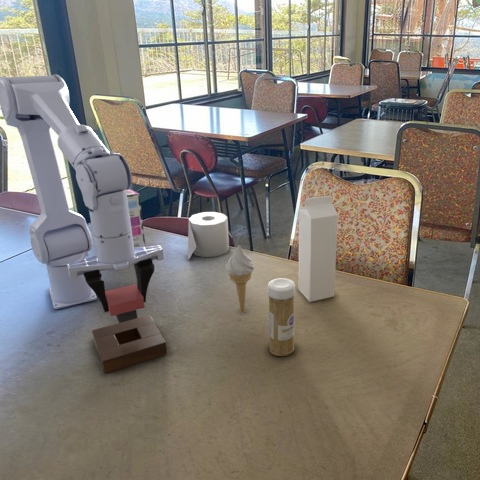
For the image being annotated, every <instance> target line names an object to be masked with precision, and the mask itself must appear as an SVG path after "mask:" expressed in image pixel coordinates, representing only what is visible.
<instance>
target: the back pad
mask: <svg viewBox="0 0 480 480" xmlns="http://www.w3.org/2000/svg"><path fill="white" fill-rule="evenodd" d="M105 294H106V299H107V303H108V308H109V312H108V313H109V315H110V317H114V316H115V317H116V319H117V322H118V323H121V322H125V321H129V320H133V319H136V318H138V311H137V310H142V309H144V308H145V307H146V306H145V302H144V299H143V296H142V294H141V293H140V291H139V289H138V288H137V283H134V284H131V285H125V286H121V287H118V288H112V289H109V290H105Z"/></svg>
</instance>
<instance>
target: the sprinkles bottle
mask: <svg viewBox="0 0 480 480" xmlns="http://www.w3.org/2000/svg"><path fill="white" fill-rule="evenodd" d="M295 294H296V285H295V282H294V280H293V279H292V280H291V279H290V278H285V277H278V278H274V279H272V280H270V281H269V282H268V283H267V296H268V328H269V329H268V331H269V334H268V335H269V352H270V353H271V354H273V355H274V356H278V357H286V356H289V355H291V354H292V353H293V352H294V351H295V342H294V341H295Z"/></svg>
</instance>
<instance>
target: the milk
mask: <svg viewBox="0 0 480 480" xmlns="http://www.w3.org/2000/svg"><path fill="white" fill-rule="evenodd" d="M332 198H333V196H332V195H323V196H317V197H308V198H305V200H304V206H302V207H301V208H299V209H298V275H297V276H298V279H297V280H298V281H297V282H298V285H297V287H298V291H299V292H300V293H301V294H302V295H303V296H304V298H305V299H306V300H307V301H308V302H309V303H311V302H317V301H321V300H324V299H329V298H333V297H335V289H336V266H337V246H338V245H337V243H338V241H337V240H338V222H339V221H338V220H339V214H338V212H337V210H336V208H335V206H334V204H333V201H332V200H333V199H332Z"/></svg>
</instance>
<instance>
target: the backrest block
mask: <svg viewBox="0 0 480 480" xmlns="http://www.w3.org/2000/svg"><path fill="white" fill-rule="evenodd" d="M91 333H92V339H93V343H94V346H95V349H96V353H97V355H98V358H99V361H100V364H101V367H102V369H103V373H104V374H107V373H111V372H114V371H118V370H120V369H124V368H127V367H130V366H133V365H136V364H141V363H143V362H146V361H150V360H153V359H155V358H158V357H162V356H165V355H167V354H168V349H167V343H166V340H165V338H164V336H163V335H162V333H161V331H160V329H159V328H158V326H157V325H156V323H155V321H154V319H153V318H152V316H151V314H148V315H144V316H141V317H137V318H136V319H133V320H129V321H125V322H121V323H119V322H117V323H114V324H110V325H105V326H103V327H98V328H96V329H95V328H94V329H91Z"/></svg>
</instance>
